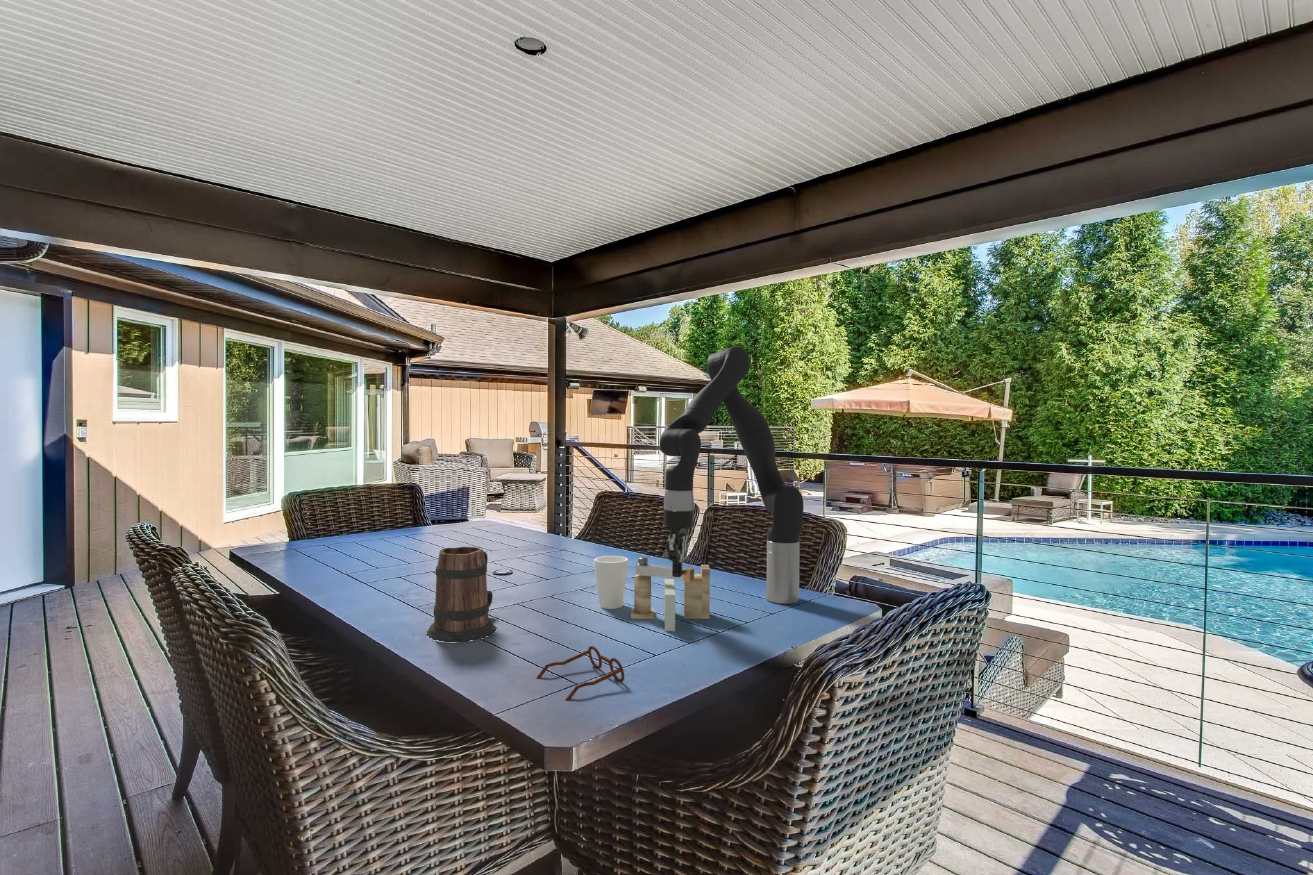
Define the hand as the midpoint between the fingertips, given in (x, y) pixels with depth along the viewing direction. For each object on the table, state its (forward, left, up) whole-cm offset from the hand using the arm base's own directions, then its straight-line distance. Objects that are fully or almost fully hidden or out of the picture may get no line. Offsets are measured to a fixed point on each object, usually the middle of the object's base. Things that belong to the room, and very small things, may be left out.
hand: (677, 576), depth 165 cm
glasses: (+36, -20, -13) cm, 44 cm away
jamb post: (-7, -9, -12) cm, 17 cm away
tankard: (+4, -52, -12) cm, 53 cm away
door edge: (-2, -2, -12) cm, 13 cm away
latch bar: (-5, -3, -1) cm, 6 cm away
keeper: (-7, +5, -12) cm, 15 cm away
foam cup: (-16, -18, -12) cm, 27 cm away
